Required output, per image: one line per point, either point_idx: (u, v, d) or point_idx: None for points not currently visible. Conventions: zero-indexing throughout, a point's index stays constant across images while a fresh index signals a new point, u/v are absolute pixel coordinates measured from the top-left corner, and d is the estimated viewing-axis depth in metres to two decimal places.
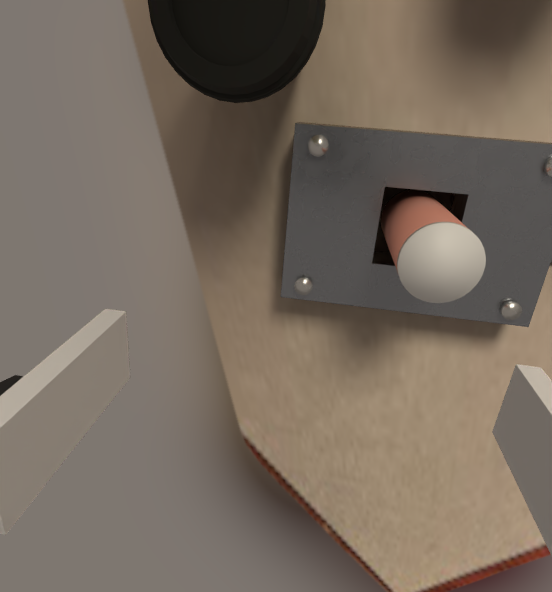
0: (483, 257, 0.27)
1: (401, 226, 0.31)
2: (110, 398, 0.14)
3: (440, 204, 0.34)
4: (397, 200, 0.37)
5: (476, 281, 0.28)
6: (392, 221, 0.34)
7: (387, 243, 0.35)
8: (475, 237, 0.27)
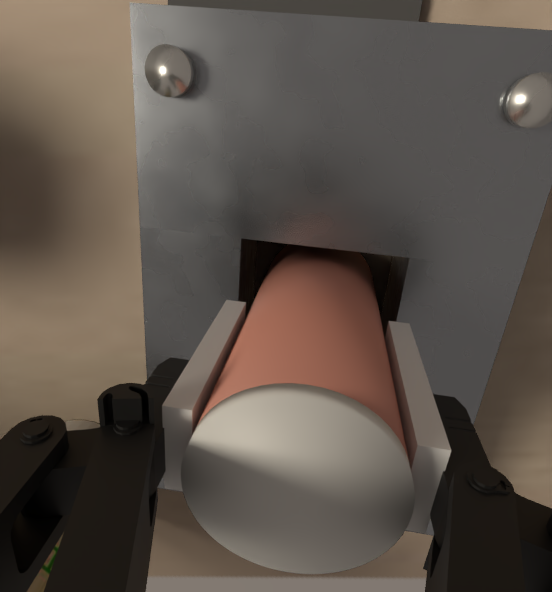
0: (268, 403, 0.09)
1: None
2: None
3: None
4: None
5: (345, 415, 0.09)
6: None
7: None
8: (210, 423, 0.10)
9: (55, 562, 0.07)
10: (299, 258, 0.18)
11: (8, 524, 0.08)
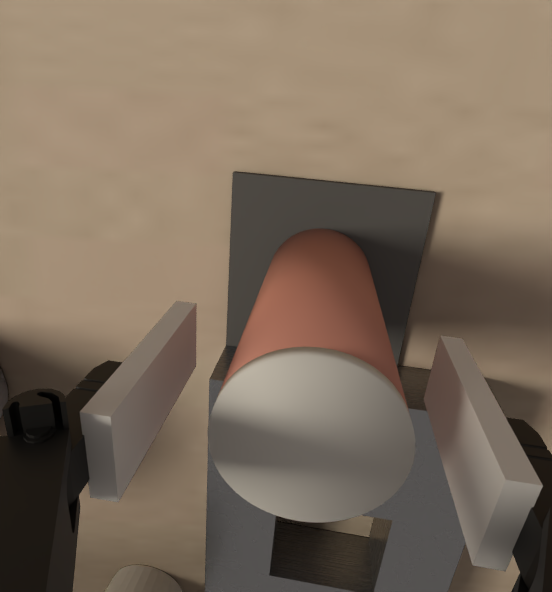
0: (287, 363, 0.10)
1: None
2: (183, 384, 0.15)
3: (261, 287, 0.18)
4: None
5: (355, 372, 0.10)
6: None
7: None
8: (236, 383, 0.11)
9: None
10: (302, 248, 0.19)
11: None
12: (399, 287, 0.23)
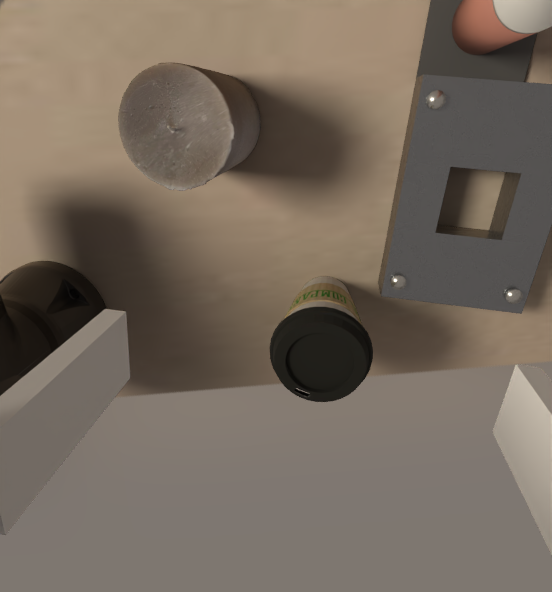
0: None
1: (490, 32, 0.33)
2: (110, 398, 0.14)
3: None
4: (460, 39, 0.39)
5: None
6: (482, 42, 0.36)
7: (505, 45, 0.36)
8: None
9: None
10: None
11: None
12: None
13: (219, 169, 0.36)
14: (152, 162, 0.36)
